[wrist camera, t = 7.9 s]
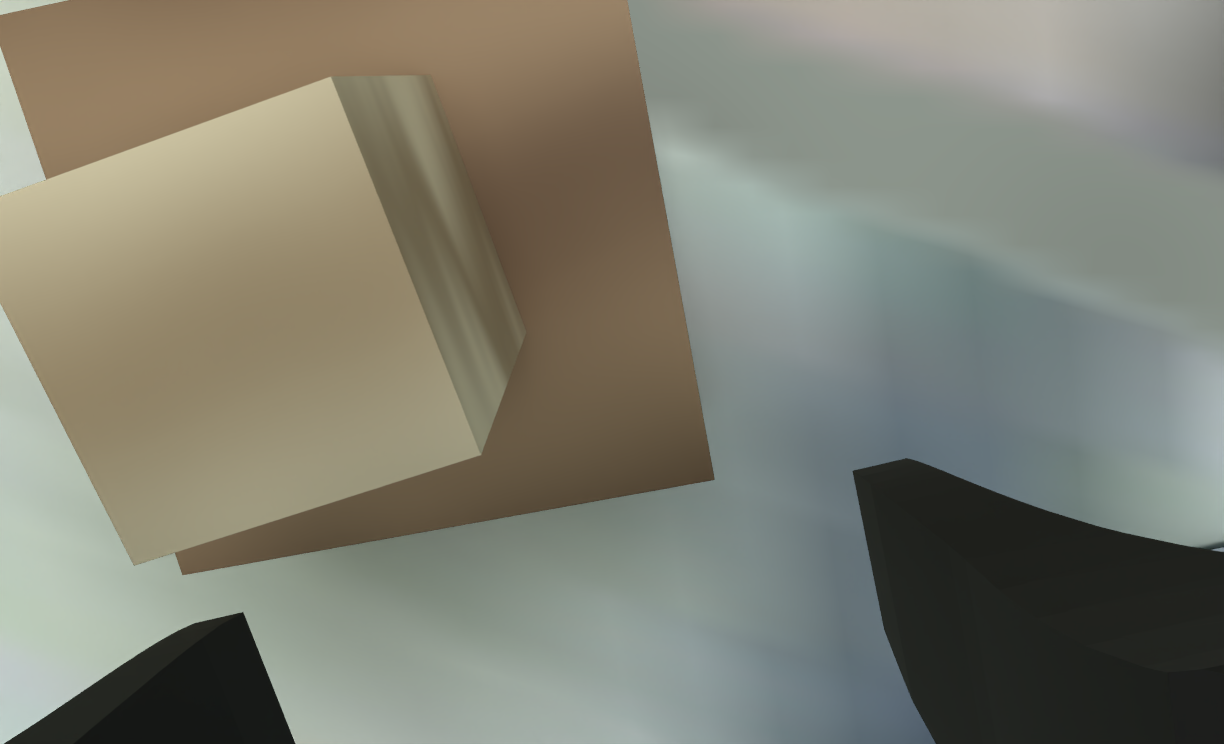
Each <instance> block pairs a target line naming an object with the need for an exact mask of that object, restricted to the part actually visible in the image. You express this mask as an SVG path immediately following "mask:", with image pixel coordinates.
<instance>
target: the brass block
mask: <svg viewBox="0 0 1224 744" xmlns="http://www.w3.org/2000/svg"><path fill="white" fill-rule="evenodd" d="M0 303H1V305H2V307H3V309H4V311H5V313H6V315H7V317H8V319H9V321H10V323H11V325H12V327H13V329H14V331H15V333H16V335H17V337H18V339H19V341H20V343H21V345H22V347H23V349H24V350H25V352H26V354H27V356H28V358H29V360H30V362H31V364H32V366H33V368H34V370H35V372H36V374H37V376H38V378H39V380H40V382H41V384H42V386H43V388H44V390H45V392H46V394H47V396H48V398H49V400H50V402H51V404H52V405H53V407H54V409H55V411H56V413H57V415H58V417H59V419H60V421H61V423H62V425H63V427H64V429H65V431H66V433H67V435H68V437H69V439H70V441H71V443H72V445H73V447H74V449H75V451H76V453H77V455H78V457H79V459H80V460H81V462H82V464H83V466H84V468H85V470H86V472H87V474H88V476H89V478H90V480H91V482H92V484H93V486H94V488H95V490H96V492H97V494H98V496H99V498H100V500H101V502H102V504H103V506H104V508H105V510H106V512H107V513H108V515H109V517H110V519H111V521H112V523H113V525H114V527H115V529H116V531H117V533H118V535H119V537H120V539H121V541H122V543H123V545H124V547H125V549H126V551H127V553H128V555H129V557H130V559H131V561H132V563H133V565H134V566H135V565H138V564H141V563H144V562H147V561H150V560H153V559H157V558H160V557H163V556H166V555H169V554H172V553H175V552H178V551H182V550H185V549H188V548H191V547H194V546H197V545H200V544H204V543H207V542H210V541H213V540H216V539H219V538H222V537H226V536H229V535H232V534H235V533H238V532H241V531H244V530H247V529H251V528H254V527H257V526H260V525H263V524H266V523H269V522H273V521H276V520H279V519H282V518H285V517H288V516H291V515H294V514H298V513H301V512H304V511H307V510H310V509H313V508H316V507H320V506H323V505H326V504H329V503H332V502H335V501H338V500H342V499H345V498H348V497H351V496H354V495H357V494H360V493H363V492H367V491H370V490H373V489H376V488H379V487H382V486H385V485H389V484H392V483H395V482H398V481H401V480H404V479H407V478H410V477H414V476H417V475H420V474H423V473H426V472H429V471H432V470H436V469H439V468H442V467H445V466H448V465H451V464H454V463H458V462H461V461H464V460H467V459H470V458H473V457H476V456H479V455H481V454H482V451H483V448H484V445H485V443H486V440H487V437H488V435H489V432H490V429H491V427H492V424H493V421H494V418H495V416H496V413H497V410H498V408H499V405H500V402H501V400H502V397H503V394H504V391H505V389H506V386H507V383H508V381H509V378H510V375H511V373H512V370H513V367H514V364H515V362H516V359H517V356H518V354H519V351H520V348H521V346H522V343H523V340H524V337H525V335H526V330H525V327H524V324H523V322H522V319H521V316H520V314H519V311H518V308H517V305H516V303H515V300H514V297H513V295H512V292H511V289H510V287H509V284H508V281H507V279H506V276H505V273H504V270H503V268H502V265H501V262H500V260H499V257H498V254H497V252H496V249H495V246H494V244H493V241H492V238H491V235H490V233H489V230H488V227H487V225H486V222H485V219H484V217H483V214H482V211H481V209H480V206H479V203H478V200H477V198H476V195H475V192H474V190H473V187H472V184H471V182H470V179H469V176H468V174H467V171H466V168H465V165H464V163H463V160H462V157H461V155H460V152H459V149H458V147H457V144H456V141H455V139H454V136H453V133H452V131H451V128H450V125H449V122H448V120H447V117H446V114H445V112H444V109H443V106H442V104H441V101H440V98H439V96H438V93H437V90H436V88H435V85H434V82H433V79H432V77H431V75H404V76H335V77H328V78H325V79H323V80H320V81H317V82H314V83H312V84H309V85H306V86H303V87H301V88H298V89H295V90H292V91H290V92H287V93H284V94H281V95H278V96H276V97H273V98H270V99H267V100H265V101H262V102H259V103H256V104H254V105H251V106H248V107H245V108H243V109H240V110H237V111H234V112H232V113H229V114H226V115H223V116H221V117H218V118H215V119H212V120H209V121H207V122H204V123H201V124H198V125H196V126H193V127H190V128H187V129H185V130H182V131H179V132H176V133H174V134H171V135H168V136H165V137H163V138H160V139H157V140H154V141H152V142H149V143H146V144H143V145H141V146H138V147H135V148H132V149H129V150H127V151H124V152H121V153H118V154H116V155H113V156H110V157H107V158H105V159H102V160H99V161H96V162H94V163H91V164H88V165H85V166H83V167H80V168H77V169H74V170H72V171H69V172H66V173H63V174H60V175H58V176H55V177H52V178H49V179H47V180H44V181H41V182H38V183H36V184H33V185H30V186H27V187H25V188H22V189H19V190H16V191H14V192H11V193H8V194H5V195H3V196H0Z"/></svg>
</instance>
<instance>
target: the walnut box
mask: <svg viewBox="0 0 1224 744" xmlns="http://www.w3.org/2000/svg"><path fill="white" fill-rule="evenodd" d="M0 47H1V49H2V52H3V55H4V58H5V61H6V64H7V67H8V70H9V73H10V76H11V78H12V81H13V84H14V87H15V90H16V93H17V96H18V99H19V102H20V105H21V108H22V110H23V113H24V116H25V119H26V122H27V125H28V128H29V131H30V134H31V137H32V139H33V142H34V145H35V148H36V151H37V154H38V157H39V160H40V163H41V166H42V168H43V171H44V174H45V177H46V180H47V179H49V178H52V177H55V176H58V175H60V174H63V173H66V172H69V171H72V170H74V169H77V168H80V167H83V166H85V165H88V164H91V163H94V162H96V161H99V160H102V159H105V158H107V157H110V156H113V155H116V154H118V153H121V152H124V151H127V150H129V149H132V148H135V147H138V146H141V145H143V144H146V143H149V142H152V141H154V140H157V139H160V138H163V137H165V136H168V135H171V134H174V133H176V132H179V131H182V130H185V129H187V128H190V127H193V126H196V125H198V124H201V123H204V122H207V121H209V120H212V119H215V118H218V117H221V116H223V115H226V114H229V113H232V112H234V111H237V110H240V109H243V108H245V107H248V106H251V105H254V104H256V103H259V102H262V101H265V100H267V99H270V98H273V97H276V96H278V95H281V94H284V93H287V92H290V91H292V90H295V89H298V88H301V87H303V86H306V85H309V84H312V83H314V82H317V81H320V80H323V79H325V78H328V77H335V76H404V75H431V77H432V79H433V82H434V85H435V88H436V90H437V93H438V96H439V98H440V101H441V104H442V106H443V109H444V112H445V114H446V117H447V120H448V122H449V125H450V128H451V131H452V133H453V136H454V139H455V141H456V144H457V147H458V149H459V152H460V155H461V157H462V160H463V163H464V165H465V168H466V171H467V174H468V176H469V179H470V182H471V184H472V187H473V190H474V192H475V195H476V198H477V200H478V203H479V206H480V209H481V211H482V214H483V217H484V219H485V222H486V225H487V227H488V230H489V233H490V235H491V238H492V241H493V244H494V246H495V249H496V252H497V254H498V257H499V260H500V262H501V265H502V268H503V270H504V273H505V276H506V279H507V281H508V284H509V287H510V289H511V292H512V295H513V297H514V300H515V303H516V305H517V308H518V311H519V314H520V316H521V319H522V322H523V324H524V327H525V330H526V335H525V337H524V340H523V343H522V346H521V348H520V351H519V354H518V356H517V359H516V362H515V364H514V367H513V370H512V373H511V375H510V378H509V381H508V383H507V386H506V389H505V391H504V394H503V397H502V400H501V402H500V405H499V408H498V410H497V413H496V416H495V418H494V421H493V424H492V427H491V429H490V432H489V435H488V437H487V440H486V443H485V445H484V448H483V451H482V454H481V455H479V456H476V457H473V458H470V459H467V460H464V461H461V462H458V463H454V464H451V465H448V466H445V467H442V468H439V469H436V470H432V471H429V472H426V473H423V474H420V475H417V476H414V477H410V478H407V479H404V480H401V481H398V482H395V483H392V484H389V485H385V486H382V487H379V488H376V489H373V490H370V491H367V492H363V493H360V494H357V495H354V496H351V497H348V498H345V499H342V500H338V501H335V502H332V503H329V504H326V505H323V506H320V507H316V508H313V509H310V510H307V511H304V512H301V513H298V514H294V515H291V516H288V517H285V518H282V519H279V520H276V521H273V522H269V523H266V524H263V525H260V526H257V527H254V528H251V529H247V530H244V531H241V532H238V533H235V534H232V535H229V536H226V537H222V538H219V539H216V540H213V541H210V542H207V543H204V544H200V545H197V546H194V547H191V548H188V549H185V550H182V551H178V552H175V555H176V557H177V560H178V563H179V566H180V569H181V572H182V575H186V574H192V573H197V572H203V571H209V570H214V569H220V568H225V567H231V566H236V565H242V564H248V563H253V562H259V561H264V560H270V559H276V558H281V557H287V556H292V555H298V554H303V553H309V552H315V551H320V550H326V549H331V548H337V547H342V546H348V545H354V544H359V543H365V542H370V541H376V540H382V539H387V538H393V537H398V536H404V535H409V534H415V533H421V532H426V531H432V530H437V529H443V528H449V527H454V526H460V525H465V524H471V523H476V522H482V521H488V520H493V519H499V518H504V517H510V516H515V515H521V514H527V513H532V512H538V511H543V510H549V509H555V508H560V507H566V506H571V505H577V504H582V503H588V502H594V501H599V500H605V499H610V498H616V497H621V496H627V495H633V494H638V493H644V492H649V491H655V490H661V489H666V488H672V487H677V486H683V485H688V484H694V483H700V482H705V481H711V480H715V479H714V474H713V468H712V463H711V457H710V452H709V446H708V441H707V435H706V430H705V424H704V419H703V413H702V408H701V402H700V397H699V391H698V386H697V380H696V375H695V370H694V364H693V359H692V353H691V348H690V342H689V337H688V331H687V326H686V320H685V315H684V309H683V304H682V298H681V293H680V287H679V282H678V276H677V271H676V265H675V260H674V254H673V249H672V243H671V238H670V232H669V227H668V221H667V216H666V210H665V205H664V199H663V194H662V188H661V183H660V178H659V172H658V167H657V161H656V156H655V150H654V145H653V139H652V134H651V128H650V123H649V117H648V112H647V106H646V101H645V95H644V90H643V84H642V79H641V73H640V68H639V62H638V57H637V51H636V46H635V41H634V35H633V30H632V24H631V18H630V13H629V8H628V2H627V0H68V1H63V2H58V3H54V4H49V5H45V6H40V7H35V8H31V9H26V10H22V11H17V12H12V13H8V14H3V15H0Z"/></svg>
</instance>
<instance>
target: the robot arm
mask: <svg viewBox="0 0 1224 744" xmlns="http://www.w3.org/2000/svg"><path fill="white" fill-rule="evenodd" d="M853 475H854V480H855V485H856V490H857V495H858V500H859V505H860V510H861V515H862V520H863V525H864V530H865V535H866V540H867V546H868V551H869V556H870V561H871V566H872V571H873V576H874V581H875V586H876V591H877V596H878V601H879V606H880V611H881V616H882V621H883V626H884V630H885V633H886V635H887V638H888V640H889V643H890V645H891V648H892V651H893V653H894V656H895V658H896V661H897V664H898V666H899V669H900V671H901V674H902V676H903V679H904V681H905V683H906V686H907V688H908V691H909V693H910V696H911V698H912V701H913V703H914V704H915V706H916V708H917V710H918V712H919V714H920V715H921V717H922V719H923V721H924V723H925V725H926V726H927V728H928V730H929V732H930V733H931V735H932V737H933V739H934V741H935V742H936V744H1224V547H1222V548H1218V549H1213V550H1207V549H1201V548H1195V547H1189V546H1183V545H1178V544H1173V543H1169V542H1164V541H1159V540H1154V539H1150V538H1145V537H1140V536H1136V535H1131V534H1126V533H1122V532H1118V531H1114V530H1110V529H1106V528H1102V527H1099V526H1095V525H1091V524H1088V523H1085V522H1082V521H1078V520H1075V519H1072V518H1069V517H1065V516H1062V515H1059V514H1056V513H1052V512H1049V511H1046V510H1043V509H1040V508H1037V507H1034V506H1032V505H1029V504H1026V503H1023V502H1020V501H1018V500H1015V499H1012V498H1009V497H1007V496H1004V495H1001V494H999V493H996V492H994V491H991V490H989V489H986V488H984V487H981V486H978V485H976V484H973V483H971V482H969V481H966V480H964V479H961V478H959V477H956V476H954V475H951V474H949V473H947V472H944V471H942V470H939V469H937V468H934V467H932V466H929V465H926V464H924V463H921V462H918V461H915V460H911V459H907V458H906V459H902V460H898V461H893V462H889V463H885V464H880V465H876V466H872V467H867V468H863V469H859V470H854V471H853ZM4 744H295V742H294V739H293V737H292V734H291V732H290V729H289V727H288V724H287V722H286V719H285V717H284V714H283V712H282V709H281V707H280V704H279V702H278V699H277V696H276V694H275V691H274V689H273V686H272V684H271V681H270V679H269V676H268V674H267V671H266V669H265V666H264V664H263V661H262V659H261V656H260V654H259V651H258V649H257V646H256V643H255V641H254V638H253V636H252V633H251V631H250V628H249V626H248V623H247V621H246V618H245V616H244V613H243V612H242V613H237V614H233V615H229V616H225V617H220V618H216V619H212V620H207V621H203V622H199V623H194V624H192V625H190V626H188V627H186V628H183V629H181V630H179V631H177V632H175V633H173V634H171V635H170V636H168V637H166V638H164V639H163V640H161V641H159V642H157V643H156V644H154V645H152V646H151V647H149V648H148V649H146V650H144V651H143V652H141V653H140V654H138V655H137V656H135V657H134V658H132V659H130V660H129V661H127V662H126V663H124V664H123V665H121V666H120V667H118V668H117V669H115V670H114V671H112V672H111V673H109V674H108V675H106V676H105V677H103V678H102V679H100V680H99V681H97V682H96V683H95V684H93V685H92V686H90V687H89V688H87V689H86V690H84V691H83V692H81V693H80V694H78V695H77V696H75V697H74V698H72V699H71V700H69V701H68V702H67V703H65V704H64V705H62V706H61V707H59V708H58V709H56V710H55V711H53V712H52V713H50V714H49V715H47V716H46V717H44V718H43V719H41V720H40V721H38V722H37V723H35V724H34V725H32V726H31V727H29V728H28V729H26V730H25V731H23V732H21V733H20V734H18V735H17V736H15V737H14V738H12V739H11V740H9V741H7V742H6V743H4Z"/></svg>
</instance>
